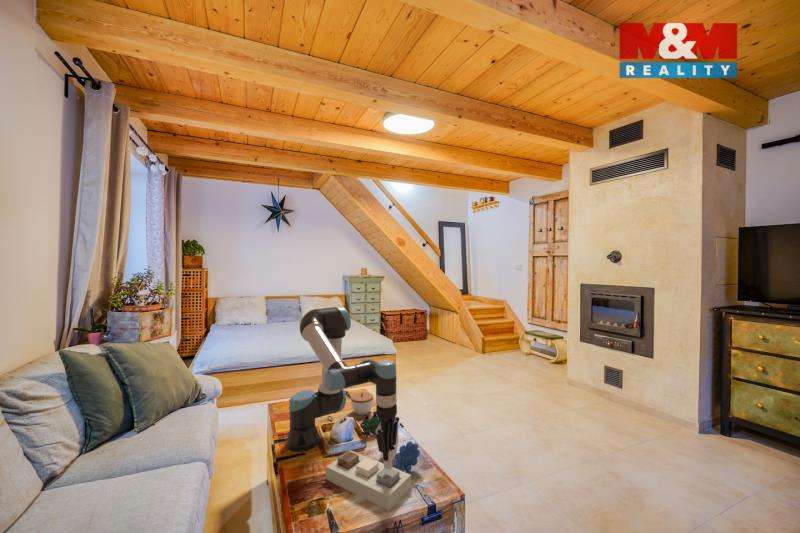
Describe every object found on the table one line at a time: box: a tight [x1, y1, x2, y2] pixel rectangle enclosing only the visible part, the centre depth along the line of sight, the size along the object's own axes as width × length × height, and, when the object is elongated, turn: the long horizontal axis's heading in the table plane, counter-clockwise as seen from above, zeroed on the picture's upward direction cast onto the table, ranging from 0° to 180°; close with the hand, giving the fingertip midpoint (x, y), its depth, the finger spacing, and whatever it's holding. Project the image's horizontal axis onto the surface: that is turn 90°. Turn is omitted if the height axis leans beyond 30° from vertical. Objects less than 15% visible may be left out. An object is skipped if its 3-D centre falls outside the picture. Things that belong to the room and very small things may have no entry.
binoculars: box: [359, 411, 379, 438], centre depth 172 cm, size 9×11×10 cm
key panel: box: [325, 450, 412, 511], centre depth 133 cm, size 31×14×5 cm, turn 55°
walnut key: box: [337, 450, 359, 470], centre depth 138 cm, size 6×6×4 cm
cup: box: [380, 428, 400, 461], centre depth 151 cm, size 9×9×12 cm
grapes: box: [393, 441, 421, 473], centre depth 140 cm, size 12×7×12 cm, turn 115°
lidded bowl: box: [350, 391, 374, 416], centre depth 195 cm, size 13×13×11 cm
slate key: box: [377, 468, 400, 488], centre depth 127 cm, size 6×6×4 cm
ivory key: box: [356, 458, 378, 479], centre depth 133 cm, size 6×6×4 cm
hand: (388, 467), depth 127 cm, fingers closed
